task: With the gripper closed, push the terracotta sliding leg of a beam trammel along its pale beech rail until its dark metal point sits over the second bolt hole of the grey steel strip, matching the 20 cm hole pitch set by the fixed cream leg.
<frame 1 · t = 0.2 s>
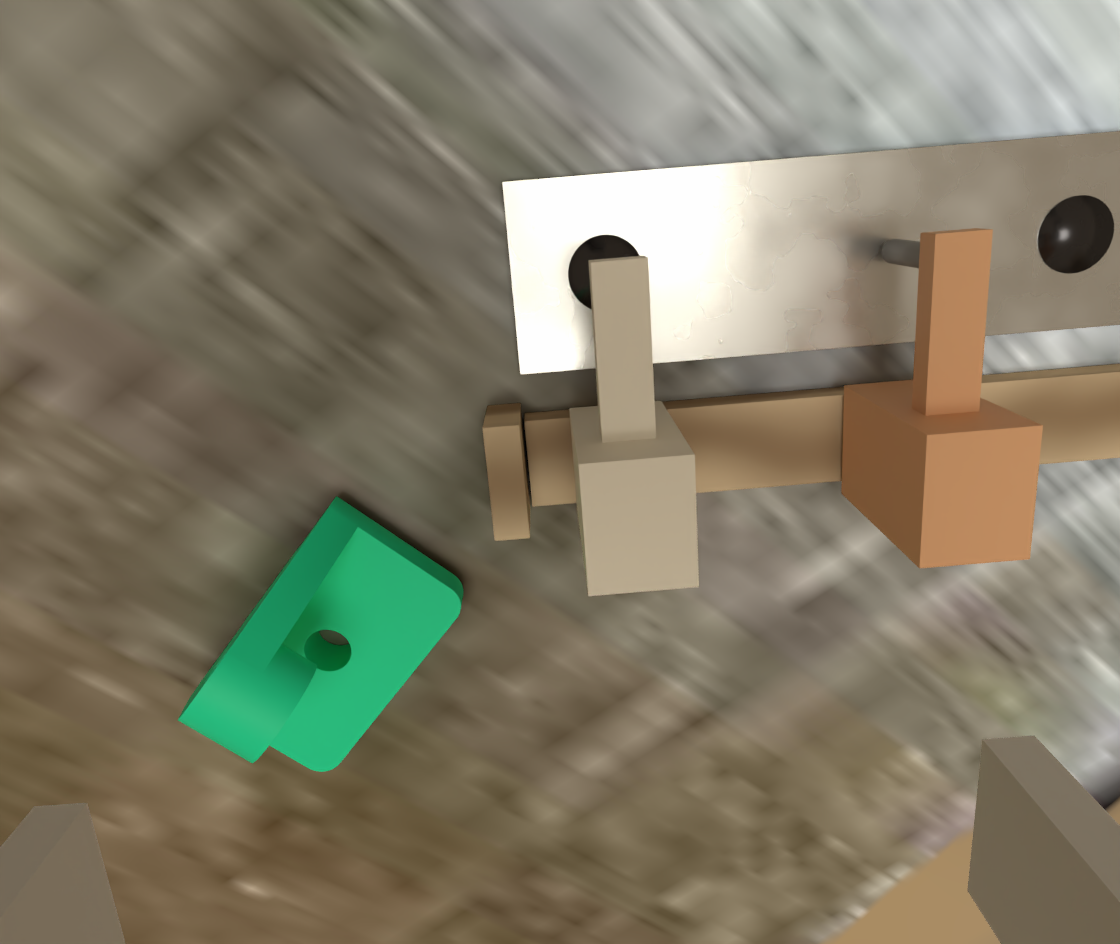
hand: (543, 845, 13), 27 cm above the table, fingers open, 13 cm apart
hole plate: (832, 252, 37), on the table
rail: (829, 430, 39), on the table
slider leg: (931, 383, 33), point 6 cm above the table, slide at 0.0 cm
camera mount: (340, 621, 42), on the table
fixed leg: (614, 447, 39), resting on rail
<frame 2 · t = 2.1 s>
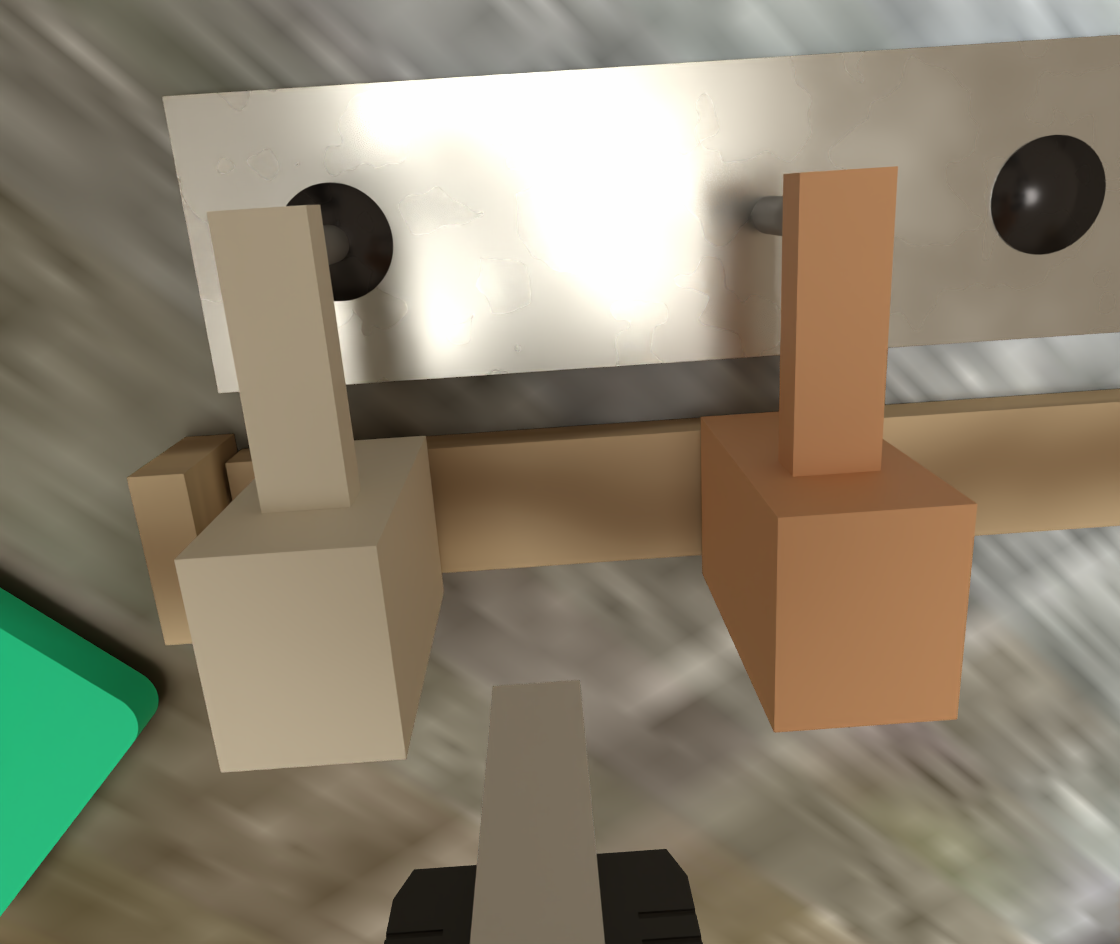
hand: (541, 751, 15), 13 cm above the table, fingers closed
hole plate: (686, 218, 25), on the table
rail: (690, 478, 27), on the table
slider leg: (812, 421, 21), point 6 cm above the table, slide at 0.0 cm
camera mount: (0, 731, 30), on the table
fixed leg: (378, 500, 27), resting on rail
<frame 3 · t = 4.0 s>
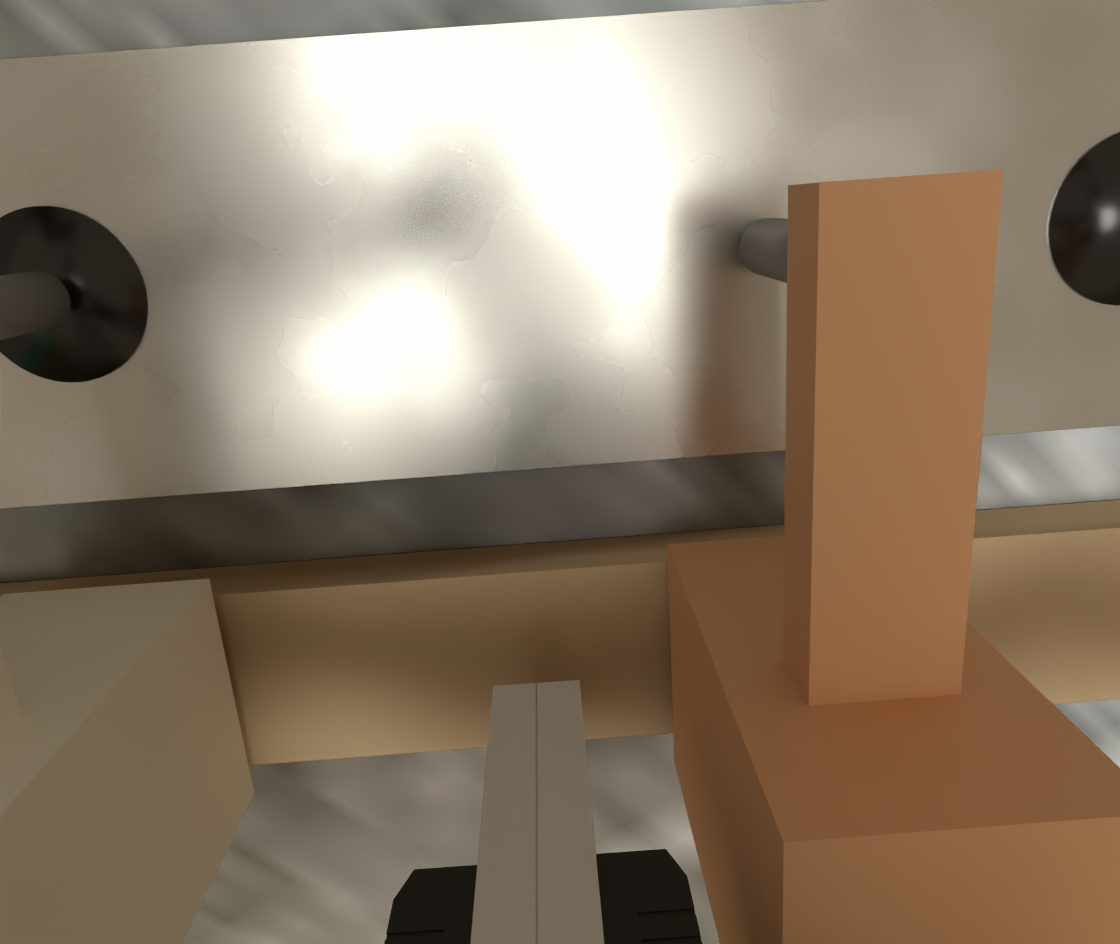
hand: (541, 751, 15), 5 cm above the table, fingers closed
hole plate: (595, 254, 17), on the table
rail: (615, 620, 19), on the table
slider leg: (839, 589, 13), point 6 cm above the table, slide at 1.0 cm, touching gripper
fixed leg: (170, 653, 19), resting on rail
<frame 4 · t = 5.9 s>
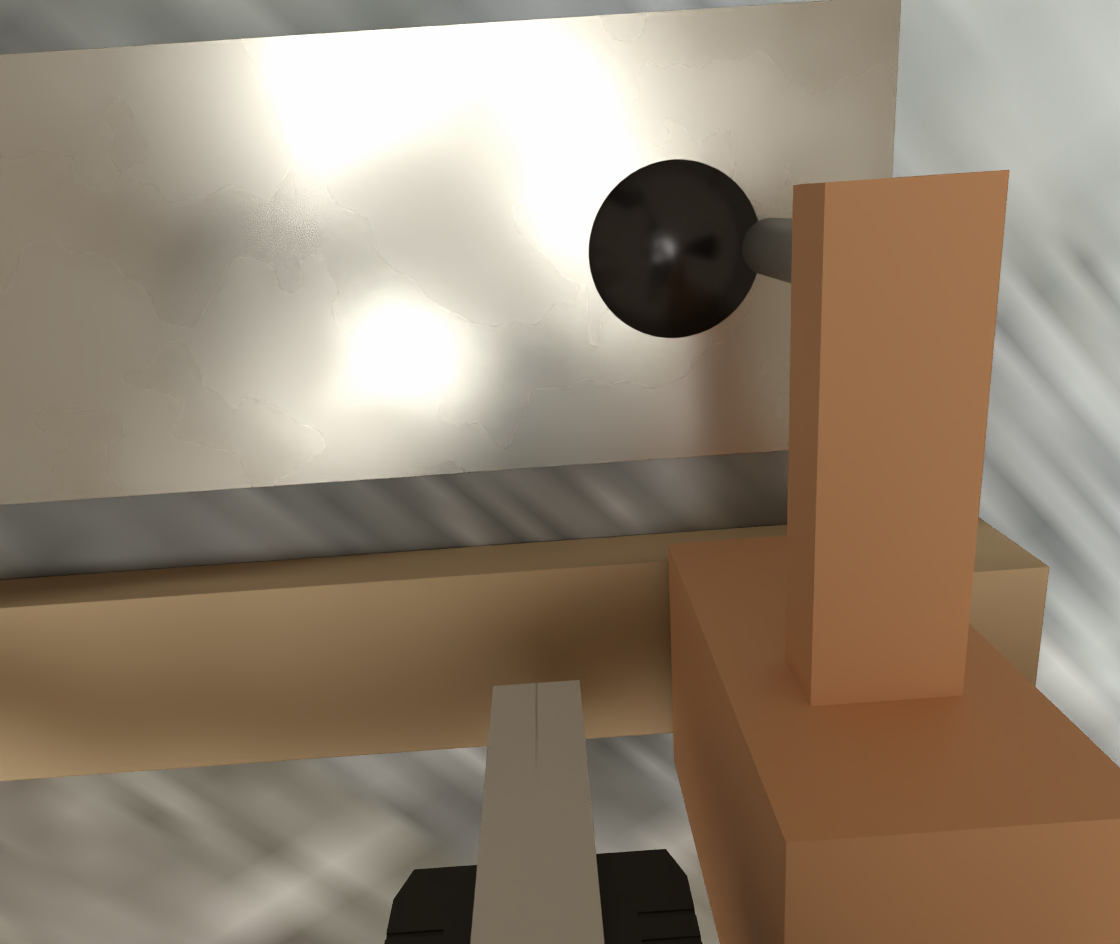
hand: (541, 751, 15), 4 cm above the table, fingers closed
hole plate: (157, 283, 17), on the table
rail: (230, 647, 19), on the table
slider leg: (841, 589, 13), point 6 cm above the table, slide at 9.6 cm, touching gripper
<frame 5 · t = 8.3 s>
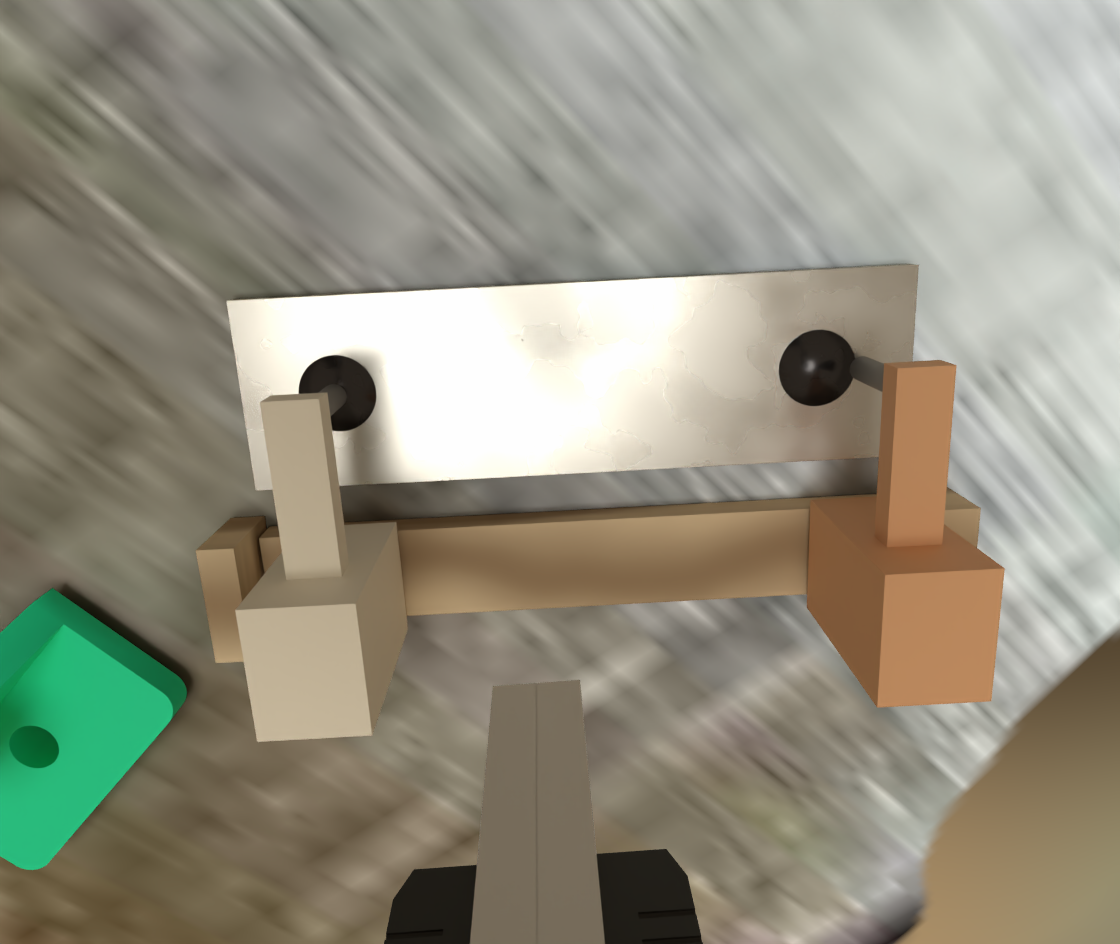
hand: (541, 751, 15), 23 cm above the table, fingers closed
hole plate: (576, 376, 36), on the table
rail: (584, 551, 39), on the table
slider leg: (895, 510, 32), point 6 cm above the table, slide at 9.7 cm
camera mount: (67, 712, 41), on the table
fixed leg: (364, 563, 39), resting on rail
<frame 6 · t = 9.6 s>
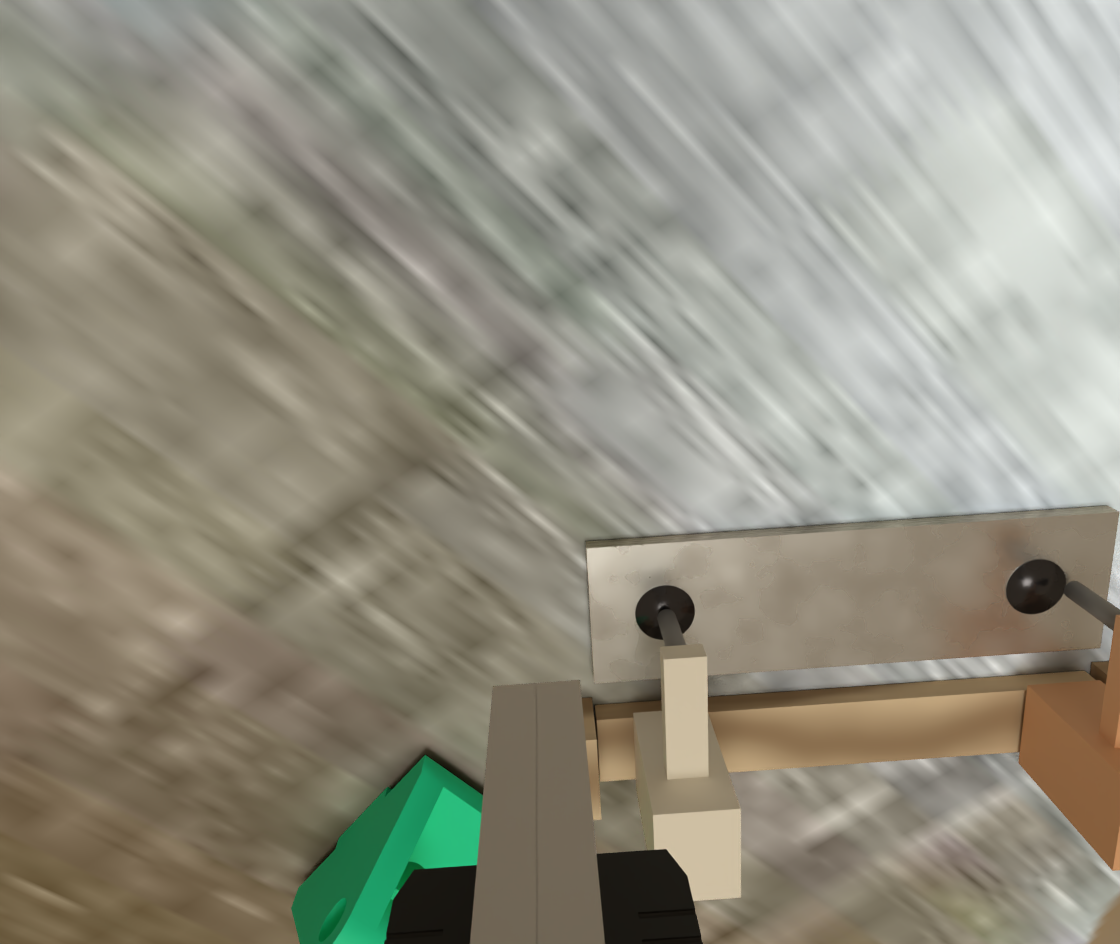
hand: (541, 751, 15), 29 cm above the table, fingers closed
hole plate: (844, 591, 47), on the table
rail: (839, 718, 49), on the table
slider leg: (1112, 711, 43), point 6 cm above the table, slide at 9.7 cm
camera mount: (415, 842, 51), on the table
fixed leg: (666, 730, 49), resting on rail
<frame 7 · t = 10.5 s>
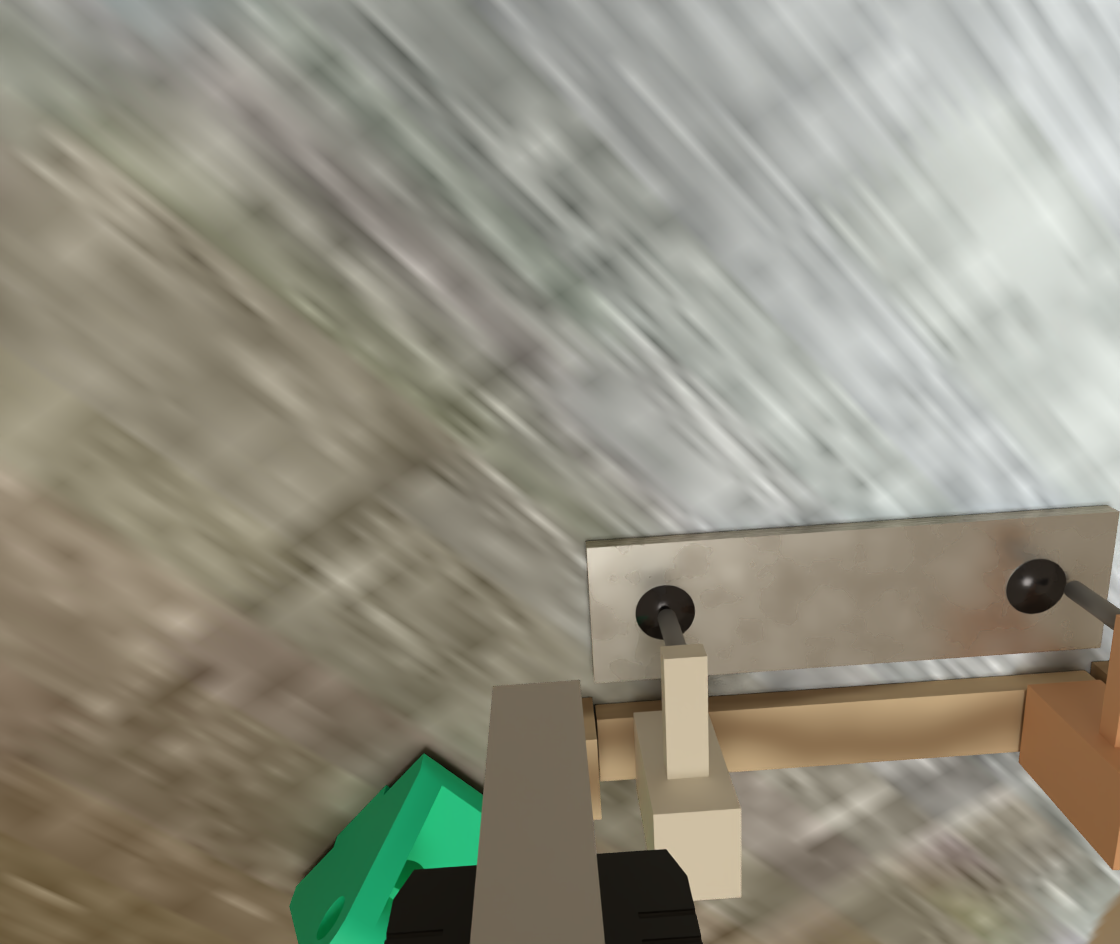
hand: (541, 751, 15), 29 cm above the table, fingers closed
hole plate: (844, 591, 47), on the table
rail: (839, 717, 49), on the table
slider leg: (1113, 711, 43), point 6 cm above the table, slide at 9.7 cm
camera mount: (413, 840, 51), on the table
fixed leg: (666, 730, 49), resting on rail
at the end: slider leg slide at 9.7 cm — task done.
